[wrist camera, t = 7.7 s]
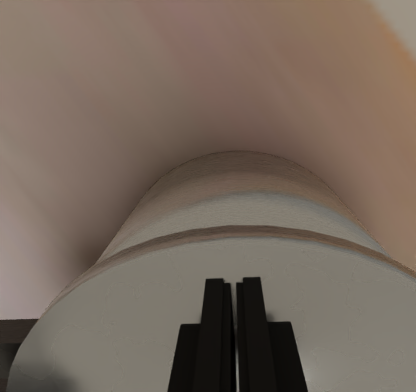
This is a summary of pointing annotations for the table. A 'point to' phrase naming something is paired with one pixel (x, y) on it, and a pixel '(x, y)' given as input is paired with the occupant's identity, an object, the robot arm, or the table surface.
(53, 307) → the cooker lid
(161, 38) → the table surface
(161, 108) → the table surface
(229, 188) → the cooker pot
